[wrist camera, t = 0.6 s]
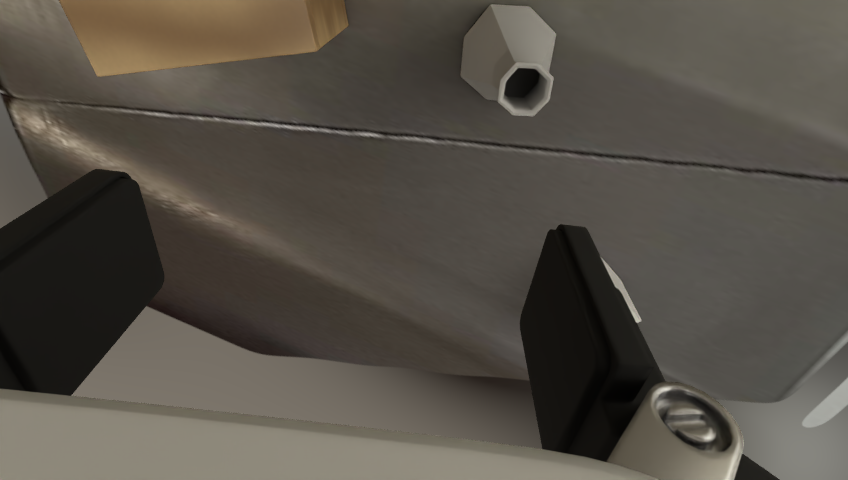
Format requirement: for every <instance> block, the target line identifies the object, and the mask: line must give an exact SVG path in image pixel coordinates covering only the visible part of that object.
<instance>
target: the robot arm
mask: <svg viewBox="0 0 848 480" xmlns="http://www.w3.org/2000/svg"><path fill="white" fill-rule="evenodd" d="M163 282H164V271H163V268H162V264H161V261H160V257H159V254H158V250H157V247H156V243H155V240H154V236H153V233H152V229H151V226H150V223H149V219H148V216H147V212H146V209H145V205H144V202H143V198H142V195H141V191H140V188H139V185H138V183H137V182H136V181H135V180H132V179H131V177H130V176H129V175H128V174H127V173H125V172H119V171H110V170H102V169H95V170H92V171H91V172H89V173H87V174H86V175H84V176H83V177H81V178H80V179H78V180H76V181H75V182H73V183H72V184H70V185H68V186H67V187H65V188H64V189H62V190H61V191H59V192H57V193H56V194H54V195H53V196H51V197H49V198H48V199H46V200H45V201H43V202H42V203H40V204H38V205H37V206H35V207H34V208H32V209H31V210H29V211H27V212H26V213H24V214H23V215H21V216H19V217H18V218H16V219H15V220H13V221H12V222H10V223H8V224H7V225H5V226H4V227H2V228H1V229H0V480H779V479H778V478H777V477H775V476H773V475H772V474H771V473H769V472H768V471H767V470H765V469H764V468H762V467H761V466H759V465H758V464H756V463H755V462H754V461H752V460H751V459H749V458H748V457H746V456H745V455H744V454H742V452H743V442H744V439H743V436H742V433H741V430H740V428H739V426H738V424H737V423H736V421H735V420H734V419H733V417H732V415H731V414H730V413H729V412H728V411H727V410H726V409H725V408H724V407H723V406H722V405H721V404H720V403H719V402H717V401H716V400H715V399H713V398H712V397H710V396H709V395H708V394H706V393H705V392H703V391H701V390H698V389H696V388H694V387H692V386H690V385H686V384H683V383H679V382H666V381H665V379H664V377H663V375H662V373H661V371H660V369H659V367H658V365H657V363H656V361H655V359H654V357H653V355H652V353H651V351H650V349H649V347H648V345H647V343H646V341H645V339H644V337H643V335H642V333H641V331H640V329H639V327H638V325H637V323H636V321H635V319H634V317H633V315H632V313H631V311H630V309H629V307H628V305H627V303H626V301H625V299H624V297H623V295H622V293H621V292H620V290H619V289H618V288H616V287H615V285H614V283H613V281H612V279H611V277H610V275H609V273H608V271H607V269H606V267H605V265H604V263H603V261H602V259H601V257H600V255H599V253H598V251H597V248H596V246H595V244H594V242H593V240H592V238H591V236H590V234H589V232H588V230H587V229H586V228H585V227H579V226H571V225H563V224H560V225H559V226H558V227H557V229H556V230H552V229H551V230H549V232H548V234H547V236H546V239H545V242H544V246H543V249H542V252H541V255H540V258H539V261H538V264H537V267H536V270H535V273H534V277H533V280H532V283H531V286H530V289H529V292H528V295H527V298H526V301H525V304H524V308H523V311H522V314H521V319H520V331H521V336H522V341H523V347H524V352H525V357H526V363H527V368H528V374H529V379H530V384H531V390H532V395H533V400H534V406H535V411H536V417H537V421H538V427H539V432H540V438H541V443H542V449H538V448H530V447H522V446H515V445H507V444H499V443H492V442H484V441H476V440H469V439H461V438H452V437H444V436H435V435H427V434H418V433H409V432H400V431H391V430H382V429H374V428H365V427H356V426H347V425H337V424H330V423H320V422H312V421H303V420H293V419H284V418H275V417H265V416H256V415H248V414H238V413H229V412H219V411H210V410H201V409H192V408H182V407H173V406H164V405H154V404H145V403H135V402H126V401H125V402H124V401H116V400H105V399H96V398H87V397H76V396H71V395H72V394H73V393H74V391H75V390H76V389H77V388H78V387H79V385H80V384H81V383H82V382H83V381H84V379H85V378H86V377H87V376H88V375H89V374H90V372H91V371H92V370H93V369H94V368H95V366H96V365H97V364H98V363H99V362H100V360H101V359H102V358H103V357H104V355H105V354H106V353H107V352H108V351H109V350H110V348H111V347H112V346H113V345H114V344H115V343H116V341H117V340H118V339H119V338H120V337H121V335H122V334H123V333H124V332H125V331H126V329H127V328H128V327H129V326H130V324H131V323H132V322H133V321H134V320H135V319H136V317H137V316H138V315H139V314H140V313H141V311H142V310H143V309H144V308H145V307H146V306H147V304H148V303H149V302H150V301H151V300H152V298H153V297H154V296H155V295H156V294H157V292H158V291H159V290H160V289H161V287H162V285H163Z"/></svg>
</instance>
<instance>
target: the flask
mask: <svg viewBox="0 0 848 480" xmlns="http://www.w3.org/2000/svg"><path fill="white" fill-rule="evenodd" d="M555 38H556V33H555V32H554V31H553V30H552V29H551V28H550V27H549V26H548V25H547V24H546V23H545V22H544V21H543V20H542V19H541V18H540V16H539V15H538V14H537V13H536V12H535V11H534V10H533V9H532V8H531V7H530V6H513V5H495V4H490V5H489V7H488V8H487V9H486V10H485V12H484V13H483V14H482V15H481V17H480V18H479V19H478V20H477V21H476V23H475V24H474V25H473V26H472V28H471V29H470V30H469V31H468V33H467V34H466V35H465V36H464V41H463V53H462V64H461V77H462V78H463V79H464V80H465V81H466V82H467V83H468V84H470V85H471V86H472V87H473V88H474V89H475V90H476V91H477V92H478V93H480V94H481V95H482V96H483V97H484V98H485V99H486V100H497V101H498V102H499V103H500V104H501V105H502V106H503V107H504V108H505V109H506V110H507V111H509V112H510V113H511V114H512V115H520V116H534V115H535V114H536V113H537V112H538V111H539V110H540V109H541V108H542V107H543V106H544V105H545V104H546V103H547V102H548V101H549V99H550V94H551V89H552V84H553V79H554V78H553V77H552V76H551V75H550V74H549V69H550V64H551V59H552V54H553V49H554V43H555Z"/></svg>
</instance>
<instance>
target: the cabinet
mask: <svg viewBox="0 0 848 480" xmlns="http://www.w3.org/2000/svg"><path fill="white" fill-rule="evenodd" d="M59 2H60V4H61V6H62V8H63V10H64V12H65V14H66V16H67V17H68V19H69V21H70V23H71V25H72V27H73V29H74V31H75V33H76V35H77V37H78V39H79V41H80V43H81V45H82V47H83V49H84V51H85V53H86V55H87V57H88V59H89V61H90V63H91V65H92V67H93V69H94V71H95V73H96V75H97V76H98V77H101V76H110V75H119V74H127V73H136V72H145V71H153V70H162V69H171V68H179V67H188V66H197V65H205V64H214V63H222V62H231V61H240V60H248V59H257V58H266V57H274V56H283V55H292V54H300V53H309V52H316V51H318V50H319V49H320V48H321V47H323V46H324V45H325V44H326V43H328V42H329V41H330V40H331V39H333V38H334V37H335V36H336V35H338V34H339V33H340V32H341V31H343V30H344V29H345V28H346V27H348V26H349V24H348V19H347V14H346V8H345V3H344V0H59Z"/></svg>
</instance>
